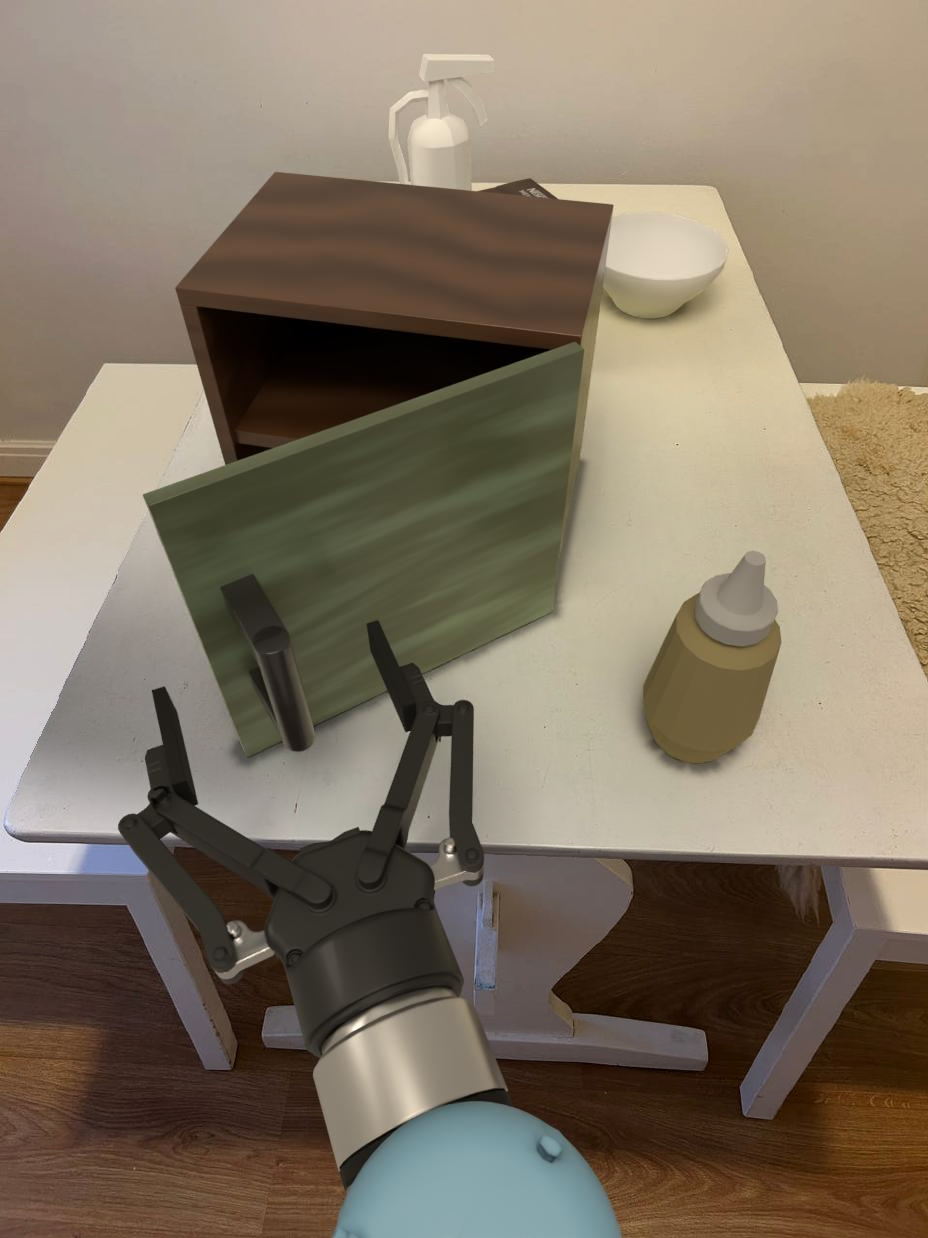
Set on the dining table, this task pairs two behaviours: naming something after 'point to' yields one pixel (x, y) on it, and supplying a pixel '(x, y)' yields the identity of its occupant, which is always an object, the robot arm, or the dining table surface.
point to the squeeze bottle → (715, 665)
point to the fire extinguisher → (440, 123)
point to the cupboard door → (375, 544)
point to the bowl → (660, 262)
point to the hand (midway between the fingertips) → (272, 667)
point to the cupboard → (383, 301)
